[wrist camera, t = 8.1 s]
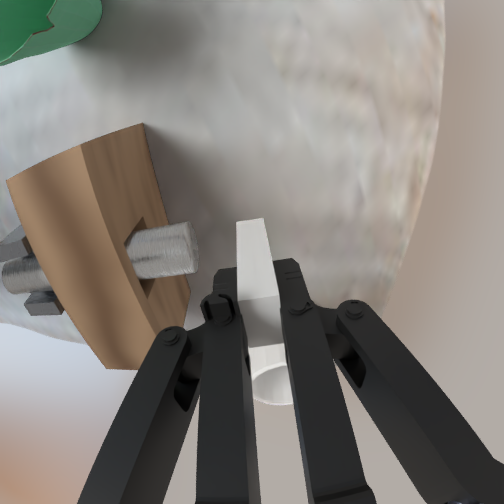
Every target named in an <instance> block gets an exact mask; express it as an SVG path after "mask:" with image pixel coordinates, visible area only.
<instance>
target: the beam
mask: <svg viewBox="0 0 504 504" xmlns="http://www.w3.org/2000/svg"><path fill="white" fill-rule="evenodd" d="M6 183H7V186H8V189H9V192H10V195H11V198H12V201H13V204H14V206H15V209H16V212H17V214H18V217H19V219H20V222H21V224H22V227H23V229H24V232H25V234H26V236H27V239H28V241H29V243H30V245H31V247H32V250H33V252H34V254H35V256H36V258H37V260H38V262H39V264H40V266H41V268H42V270H43V272H44V274H45V276H46V278H47V279H48V281H49V283H50V285H51V287H52V289H53V290H54V292H55V294H56V296H57V297H58V299H59V301H60V302H61V304H62V306H63V307H64V309H65V311H66V312H67V314H68V315H69V317H70V319H71V320H72V322H73V323H74V325H75V326H76V328H77V329H78V331H79V332H80V334H81V335H82V337H83V338H84V339H85V341H86V342H87V344H88V345H89V346H90V348H91V349H92V351H93V352H94V353H95V355H96V356H97V357H98V358H99V360H100V361H101V363H102V364H103V365H104V366H105V368H106V369H122V370H139V368H140V366H141V364H142V362H143V360H144V358H145V356H146V355H147V353H148V351H149V349H150V347H151V345H152V343H153V341H154V339H155V337H156V336H157V335H158V333H159V332H160V331H162V330H163V329H165V328H167V327H170V326H179V327H182V328H183V325H184V321H185V316H186V311H187V306H188V302H189V297H190V293H191V291H190V288H189V285H188V282H187V279H186V276H185V274H183V275H175V276H167V277H160V278H152V279H144V280H138V278H137V275H136V273H135V271H134V268H133V266H132V263H131V261H130V259H129V256H128V254H127V251H126V249H125V246H124V242H125V240H126V239H127V237H128V236H129V235H130V233H131V232H133V231H138V230H143V229H149V228H154V227H159V226H165V225H169V223H168V219H167V216H166V212H165V209H164V206H163V202H162V198H161V195H160V191H159V187H158V184H157V180H156V176H155V172H154V168H153V165H152V161H151V157H150V152H149V148H148V144H147V140H146V135H145V131H144V127H143V123H140V124H137V125H134V126H131V127H128V128H124V129H121V130H118V131H115V132H112V133H110V134H107V135H104V136H101V137H99V138H96V139H93V140H91V141H88V142H85V143H83V144H80V145H78V146H76V147H73V148H71V149H68V150H66V151H64V152H62V153H59V154H57V155H55V156H53V157H51V158H48V159H46V160H44V161H42V162H40V163H38V164H36V165H34V166H32V167H30V168H28V169H26V170H24V171H22V172H21V173H19V174H17V175H15V176H13V177H11V178H10V179H8V180H6Z"/></svg>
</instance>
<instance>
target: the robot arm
mask: <svg viewBox="0 0 504 504" xmlns="http://www.w3.org/2000/svg"><path fill="white" fill-rule="evenodd" d="M236 232H237V267H234V268H227V269H220V270H218V271H217V273H216V274H215V276H214V281H213V292H212V294H210V295H208V296H206V297H205V298H204V299H203V300H202V302H201V304H200V307H201V310H202V313H203V315H204V318H205V321H206V322H205V323H204V324H202V325H201V326H199V327H197V328H194V329H192V330H189V331H186V330H185V329H184V328H182V327H179V326H170V327H167V328H165V329H163V330H162V331H160V332H159V333H158V335H157V336H156V337H155V339H154V341H153V343H152V345H151V347H150V349H149V351H148V353H147V355H146V356H145V358H144V360H143V362H142V364H141V366H140V368H139V370H138V372H137V374H136V376H135V378H134V380H133V382H132V384H131V386H130V388H129V390H128V392H127V394H126V396H125V398H124V400H123V402H122V404H121V406H120V408H119V410H118V412H117V414H116V416H115V419H114V421H113V423H112V425H111V427H110V429H109V431H108V434H107V436H106V438H105V440H104V442H103V444H102V446H101V449H100V451H99V453H98V455H97V458H96V460H95V462H94V464H93V467H92V469H91V471H90V474H89V476H88V478H87V481H86V483H85V485H84V488H83V490H82V493H81V495H80V498H79V500H78V503H77V504H163V500H164V497H165V495H166V491H167V489H168V485H169V483H170V480H171V477H172V474H173V471H174V468H175V465H176V462H177V460H178V457H179V454H180V451H181V448H182V445H183V442H184V439H185V435H186V433H187V430H188V427H189V424H190V422H191V419H192V416H193V413H194V410H195V407H196V404H197V401H198V398H199V395H200V402H199V420H198V442H197V444H198V445H197V472H196V502H195V504H261V496H260V484H259V473H258V459H257V446H256V433H255V419H254V407H253V406H254V405H253V391H252V377H251V363H250V356H249V352H248V346H249V348H254V347H261V346H269V345H275V344H282V343H284V347H285V358H286V364H287V368H288V374H289V380H290V386H291V392H292V398H293V404H294V410H295V416H296V423H297V429H298V435H299V442H300V448H301V455H302V461H303V468H304V474H305V481H306V489H307V496H308V503H309V504H377V503H376V500H375V496H374V493H373V491H372V489H371V488H370V487H369V486H368V485H367V482H366V480H365V476H364V472H363V468H362V464H361V460H360V456H359V452H358V448H357V444H356V440H355V436H354V432H353V428H352V425H351V421H350V417H349V414H348V410H347V407H346V403H345V399H344V396H343V392H342V389H341V386H340V382H339V379H338V375H337V372H336V368H335V365H334V362H333V359H334V361H335V363H336V364H337V366H338V367H339V369H340V370H341V372H342V373H343V375H344V376H345V378H346V379H347V381H348V383H349V384H350V386H351V387H352V389H353V390H354V392H355V393H356V395H357V396H358V398H359V400H360V401H361V403H362V404H363V406H364V407H365V409H366V410H367V412H368V413H369V415H370V416H371V418H372V420H373V421H374V423H375V424H376V426H377V428H378V429H379V431H380V432H381V434H382V435H383V437H384V438H385V440H386V442H387V443H388V445H389V446H390V448H391V449H392V451H393V452H394V454H395V455H396V457H397V459H398V460H399V462H400V464H401V465H402V467H403V468H404V470H405V471H406V473H407V475H408V476H409V478H410V479H411V481H412V482H413V484H414V486H415V487H416V489H417V491H418V492H419V494H420V495H421V496H422V498H423V499H424V500H425V502H426V503H427V504H504V464H502V463H500V462H499V461H497V460H495V459H494V458H493V457H492V455H491V454H490V452H489V451H488V450H487V448H486V447H485V445H484V444H483V443H482V442H481V440H480V439H479V437H478V436H477V434H476V433H475V432H474V430H473V429H472V428H471V426H470V425H469V424H468V422H467V421H466V420H465V419H464V417H463V416H462V415H461V413H460V412H459V411H458V409H457V408H456V407H455V406H454V405H453V403H452V402H451V401H450V399H449V398H448V397H447V396H446V394H445V393H444V392H443V391H442V389H441V388H440V387H439V386H438V385H437V383H436V382H435V381H434V380H433V378H432V377H431V376H430V375H429V374H428V372H427V371H426V370H425V369H424V368H423V366H422V365H421V364H420V363H419V362H418V361H417V359H416V358H415V357H414V356H413V355H412V354H411V352H410V351H409V350H408V349H407V348H406V347H405V345H404V344H403V343H402V342H401V341H400V340H399V339H398V337H397V336H396V335H395V334H394V333H393V332H392V331H391V330H390V328H389V327H388V326H387V325H386V324H385V323H384V322H383V321H382V319H381V318H380V317H379V316H378V315H377V314H376V313H375V312H374V311H373V310H372V309H371V307H370V306H369V305H367V304H366V303H365V302H363V301H360V300H348V301H345V302H343V303H341V304H340V305H339V307H338V308H337V309H329V308H323V307H320V306H317V305H316V304H314V302H313V301H312V300H311V299H310V297H309V293H308V290H307V287H306V284H305V281H304V278H303V275H302V272H301V269H300V267H299V264H298V263H297V262H296V261H295V260H294V259H293V258H289V259H283V260H276V261H272V257H271V252H270V247H269V243H268V238H267V233H266V229H265V224H264V219H263V218H259V219H252V220H246V221H239V222H236Z"/></svg>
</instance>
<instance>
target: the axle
mask: <svg viewBox="0 0 504 504" xmlns="http://www.w3.org/2000/svg"><path fill="white" fill-rule="evenodd" d="M124 246H125V249H126V251H127V254H128V256H129V259H130V261H131V263H132V266H133V268H134V271H135V273H136V275H137V278H138V280H144V279H152V278H160V277H167V276H175V275H183V274H190V273H196V272H197V270H198V265H199V253H198V245H197V239H196V235H195V232H194V229H193V227H192V225H191V223H190V222H188V221H187V222H181V223H176V224H170V225H165V226H159V227H154V228H149V229H143V230H138V231H133V232H131V233H130V235H129V236H128V237H127V239H126V240H125V242H124ZM2 279H3V283H4V286H5V287H6V289H7V290H8V291H9V292H10V293H12V294H25V293H34V292H43V291H52V290H53V289H52V287H51V285H50V283H49V281H48V279H47V278H46V276H45V274H44V272H43V270H42V268H41V266H40V264H39V262H38V260H37V258H36V256H35V254H34V253H33V254H29V255H27V256H23V257H19V258H15V259H11V260H8V261H7V262H6V263H5V265H4V267H3V271H2Z"/></svg>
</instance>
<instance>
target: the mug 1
mask: <svg viewBox="0 0 504 504" xmlns="http://www.w3.org/2000/svg"><path fill="white" fill-rule="evenodd" d="M102 11H103V10H102V4H101V0H0V66H3V65H6V64H9V63H12V62H15V61H17V60H20V59H23V58H26V57H30V56H35V55H40V54H43V53H46V52H49V51H52V50H55V49H58V48H61V47H64V46H67V45H70V44H72V43H74V42H77V41H79V40H81V39H83V38H85V37H86V36H88V35H89V34H90V33H91V32H92V31H93V30H94V29H95V27H96V26H97V25H98V23H99V21H100V19H101V16H102Z"/></svg>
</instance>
